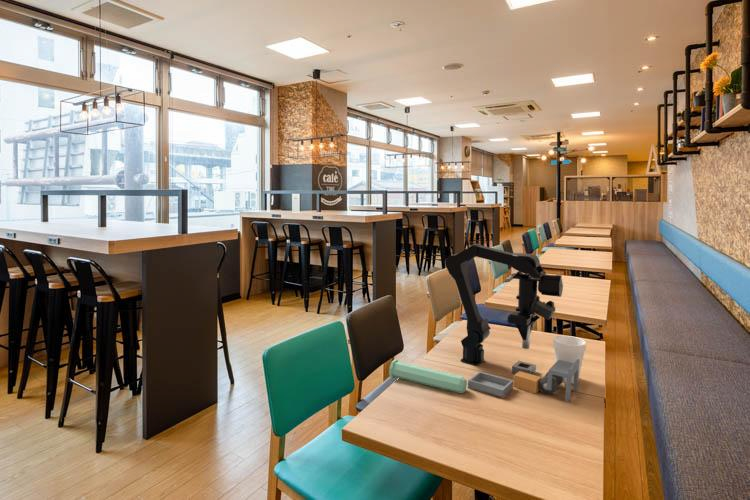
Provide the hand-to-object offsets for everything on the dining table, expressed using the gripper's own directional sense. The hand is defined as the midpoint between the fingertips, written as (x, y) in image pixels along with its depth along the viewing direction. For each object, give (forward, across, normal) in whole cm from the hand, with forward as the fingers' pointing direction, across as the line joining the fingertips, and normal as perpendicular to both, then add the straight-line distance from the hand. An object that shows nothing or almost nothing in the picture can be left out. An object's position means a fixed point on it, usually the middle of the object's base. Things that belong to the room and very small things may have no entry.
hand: (525, 338), depth 146 cm
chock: (+12, -11, -5) cm, 17 cm away
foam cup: (+12, +4, -13) cm, 18 cm away
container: (+12, -27, +21) cm, 37 cm away
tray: (+12, -18, +4) cm, 22 cm away
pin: (+3, 0, 0) cm, 3 cm away
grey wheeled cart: (+12, -7, -13) cm, 19 cm away
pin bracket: (+12, 0, 0) cm, 12 cm away
